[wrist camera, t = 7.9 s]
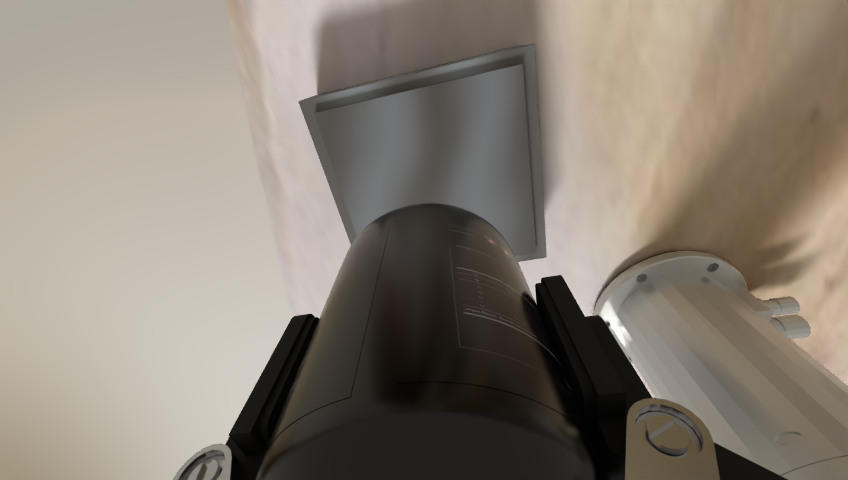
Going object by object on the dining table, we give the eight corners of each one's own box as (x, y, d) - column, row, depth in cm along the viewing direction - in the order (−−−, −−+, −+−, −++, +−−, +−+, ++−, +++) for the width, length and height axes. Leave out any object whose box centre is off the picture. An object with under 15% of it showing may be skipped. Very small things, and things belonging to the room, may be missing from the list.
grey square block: (520, 45, 22) (536, 44, 18) (534, 234, 28) (548, 260, 25) (317, 95, 24) (296, 102, 20) (373, 261, 30) (365, 289, 27)
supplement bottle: (433, 360, 16) (432, 943, 6) (313, 277, 14) (-60, 968, 3) (553, 273, 14) (969, 1042, 3) (428, 155, 11) (358, 1380, 1)
